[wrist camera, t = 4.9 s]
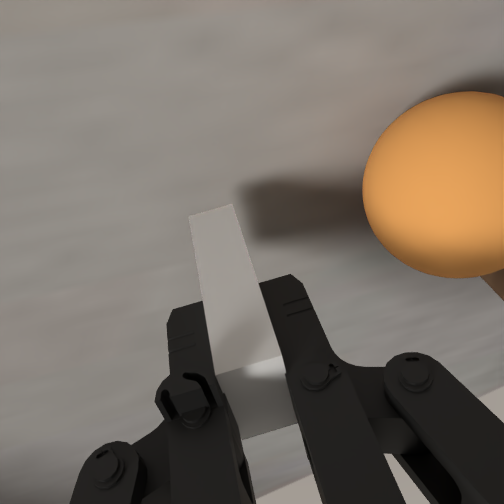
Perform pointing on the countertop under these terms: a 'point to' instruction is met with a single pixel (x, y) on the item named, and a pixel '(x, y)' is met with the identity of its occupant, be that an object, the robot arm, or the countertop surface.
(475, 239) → the ball
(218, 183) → the countertop surface
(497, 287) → the bridge
